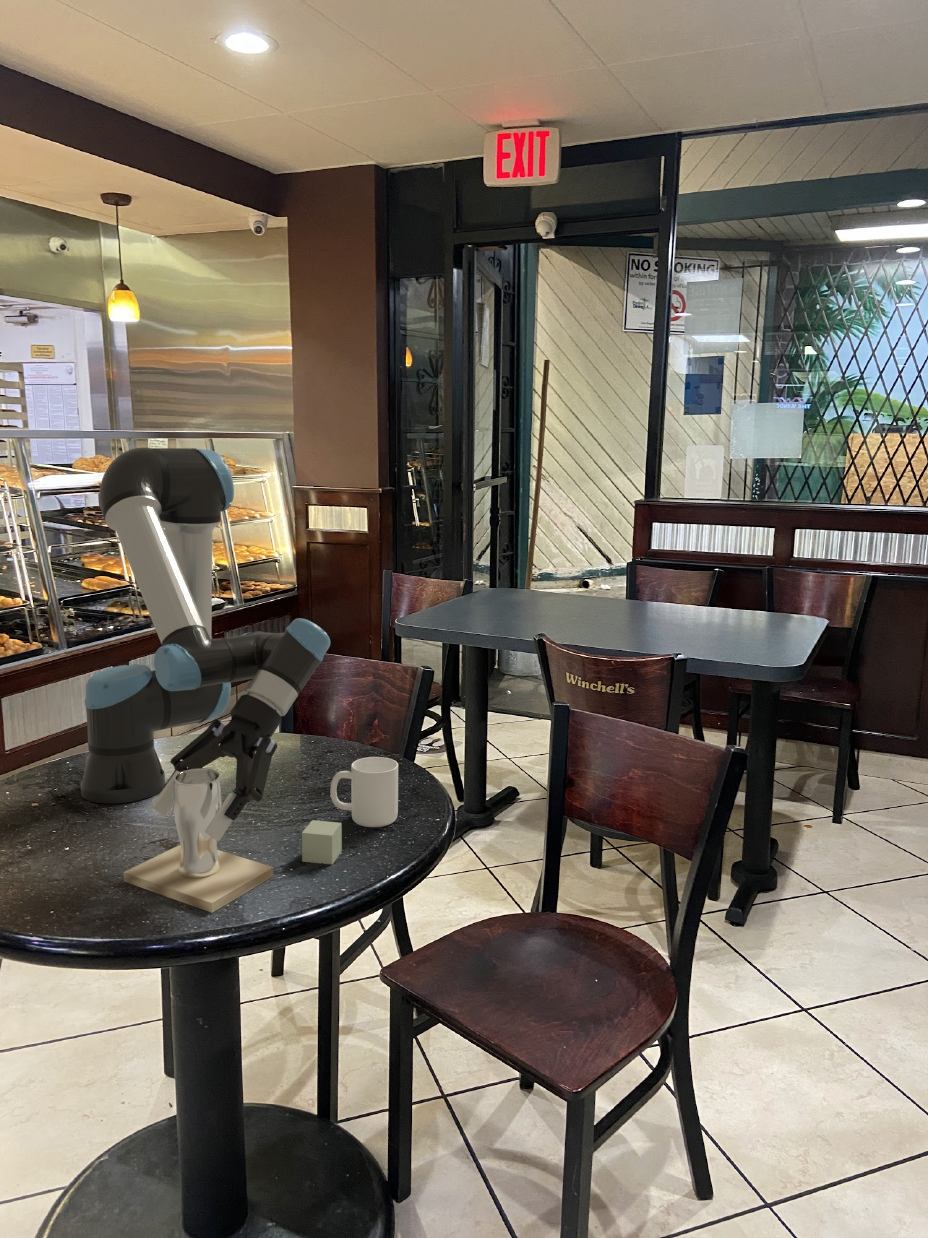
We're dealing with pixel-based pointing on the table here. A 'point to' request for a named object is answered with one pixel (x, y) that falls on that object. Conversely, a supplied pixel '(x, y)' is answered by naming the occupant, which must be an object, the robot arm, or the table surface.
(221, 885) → the board
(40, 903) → the table surface
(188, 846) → the beer glass
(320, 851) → the sage block
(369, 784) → the cup
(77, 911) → the table surface
